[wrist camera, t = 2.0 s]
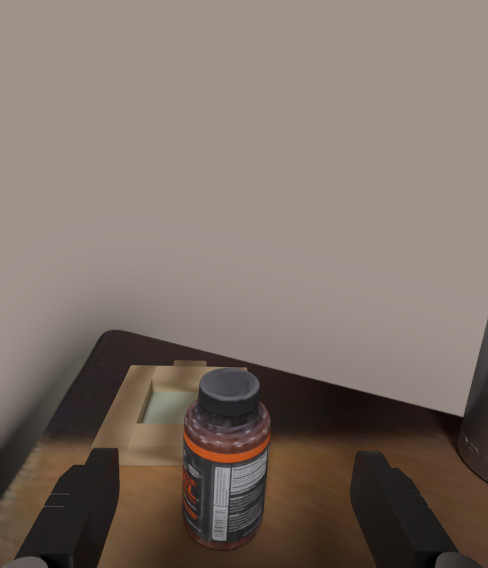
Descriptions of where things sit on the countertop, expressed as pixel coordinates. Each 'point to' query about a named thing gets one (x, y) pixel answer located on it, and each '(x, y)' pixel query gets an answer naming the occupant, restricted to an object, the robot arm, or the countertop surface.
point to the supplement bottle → (225, 460)
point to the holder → (152, 413)
